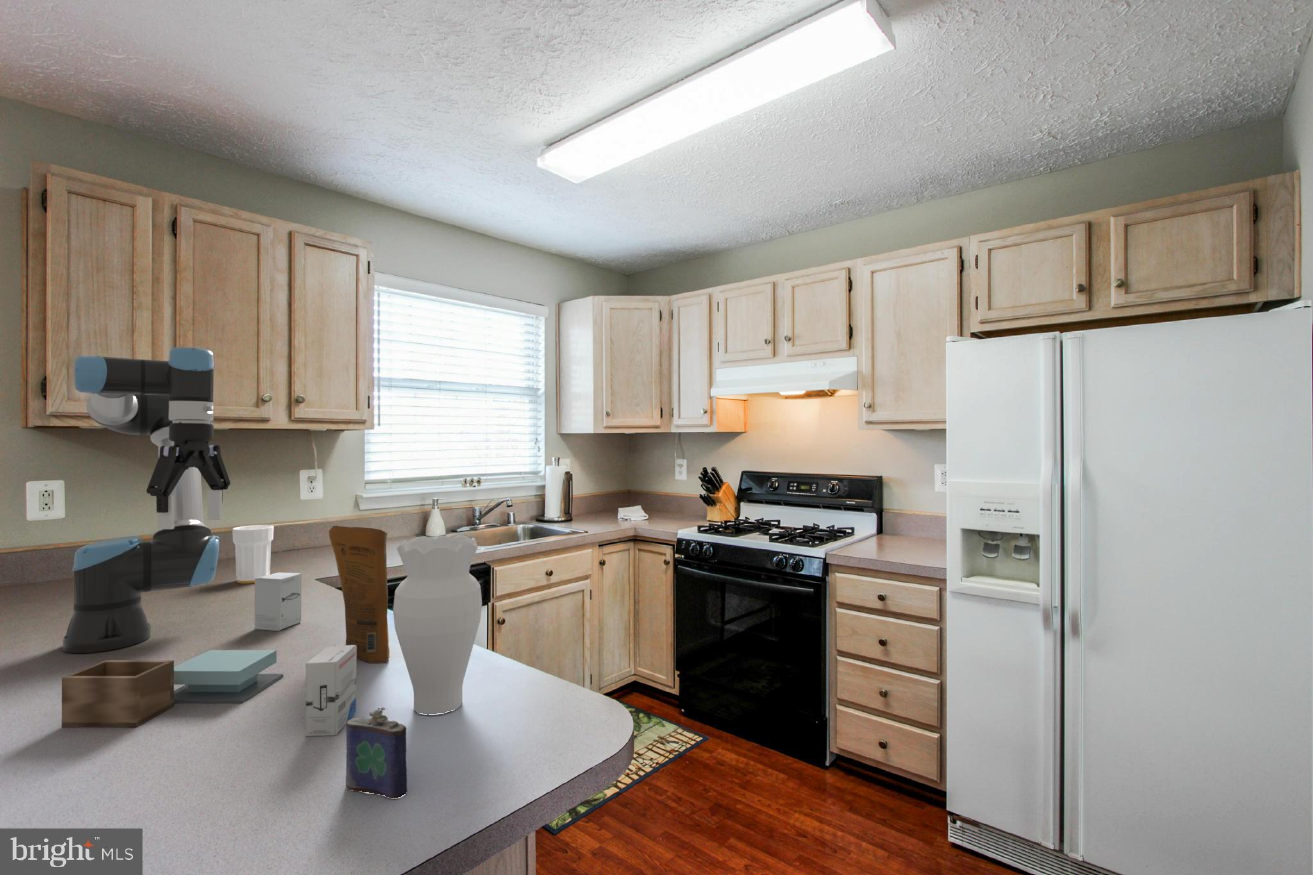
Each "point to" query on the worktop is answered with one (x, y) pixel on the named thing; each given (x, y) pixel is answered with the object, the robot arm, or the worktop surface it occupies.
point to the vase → (437, 618)
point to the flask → (376, 755)
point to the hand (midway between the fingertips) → (191, 524)
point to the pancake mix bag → (363, 589)
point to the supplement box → (277, 601)
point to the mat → (226, 697)
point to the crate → (117, 693)
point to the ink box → (330, 690)
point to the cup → (252, 552)
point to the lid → (223, 670)
